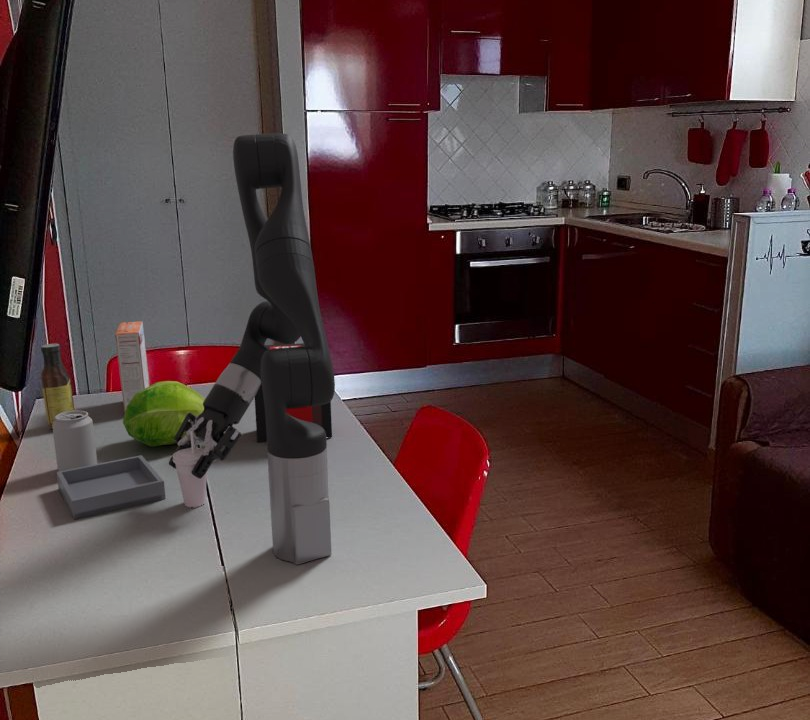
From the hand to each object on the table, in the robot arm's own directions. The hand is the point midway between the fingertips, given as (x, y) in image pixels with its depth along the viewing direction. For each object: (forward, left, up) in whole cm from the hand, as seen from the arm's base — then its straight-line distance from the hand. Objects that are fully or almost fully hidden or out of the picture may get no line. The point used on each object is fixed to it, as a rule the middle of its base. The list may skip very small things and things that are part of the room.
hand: (184, 471), depth 145 cm
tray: (+14, +10, -7) cm, 18 cm away
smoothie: (+1, -2, -7) cm, 7 cm away
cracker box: (+67, -8, -7) cm, 67 cm away
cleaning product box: (+26, -33, -7) cm, 42 cm away
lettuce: (+36, -8, -7) cm, 37 cm away
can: (+30, +13, -7) cm, 33 cm away
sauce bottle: (+61, +11, -7) cm, 62 cm away
